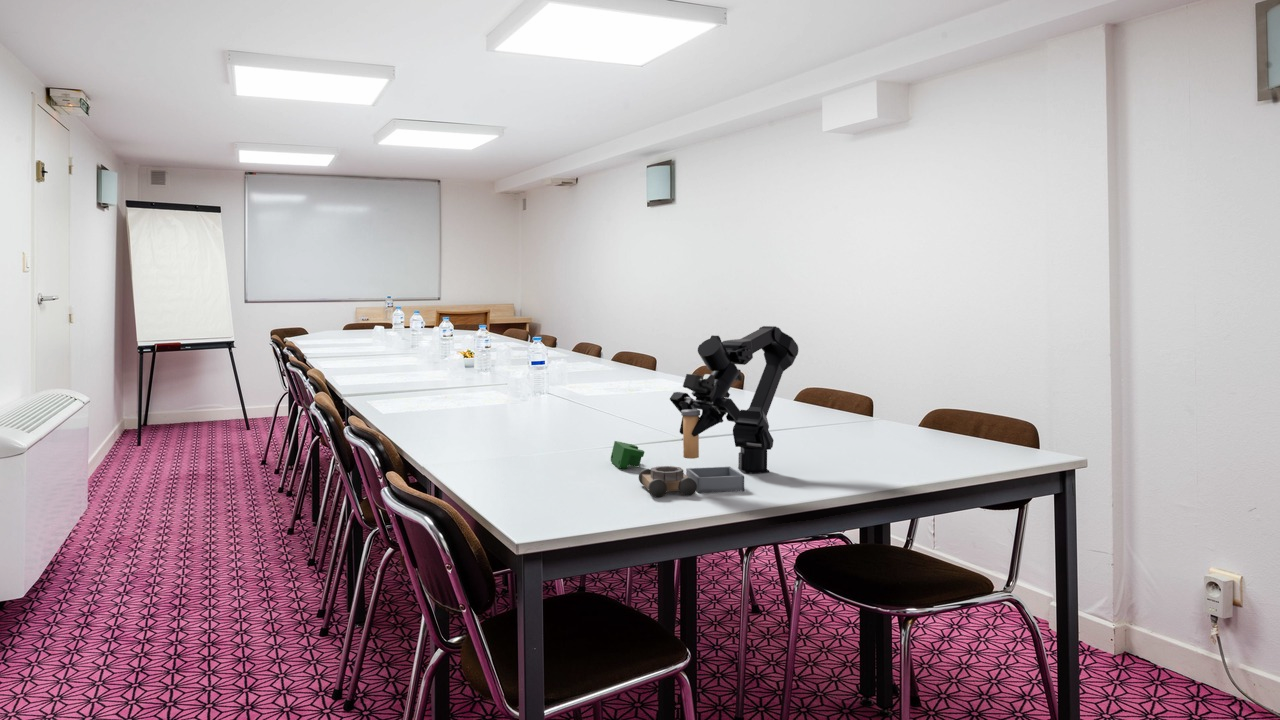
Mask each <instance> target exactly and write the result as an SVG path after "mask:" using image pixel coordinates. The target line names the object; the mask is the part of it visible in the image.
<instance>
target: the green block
mask: <svg viewBox="0 0 1280 720" xmlns="http://www.w3.org/2000/svg"><path fill="white" fill-rule="evenodd" d="M610 455H611V456H610V462H611V463H612V464H613V465H614V466H615V467H617V468H618V469H622V470H627V468H628V466H631V467H635V466H639V467H640V464H641V461H642V458H643V457H644V455H645V451H644V450H643V449H639V447H638V446H637V445H635V444H632V443H627V442H622V441H618V440H614V442H613V446H612V451H611V454H610Z"/></svg>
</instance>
